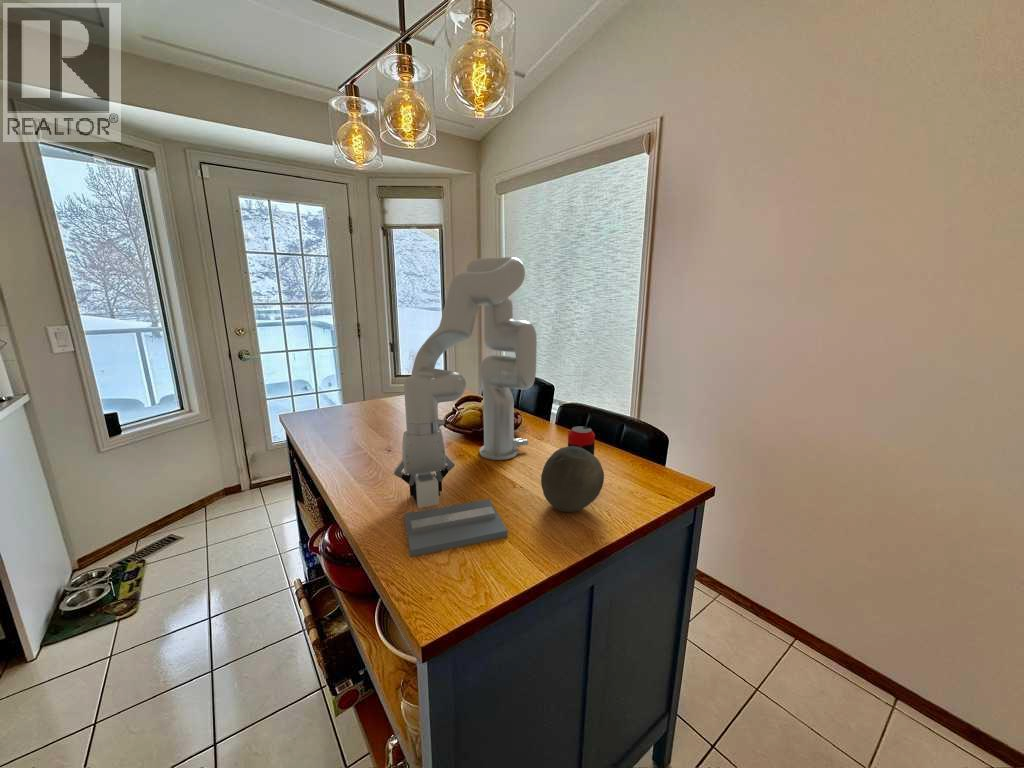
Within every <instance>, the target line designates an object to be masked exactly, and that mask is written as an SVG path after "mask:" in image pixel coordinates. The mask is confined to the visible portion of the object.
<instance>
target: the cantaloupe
mask: <svg viewBox="0 0 1024 768" xmlns="http://www.w3.org/2000/svg"><path fill="white" fill-rule="evenodd" d="M604 481H605V473H604V469H603V466H602V464H601V462H600V460H599V459H598V458H597V457H596V456H595V454H594V455H593V454H591V453H590V452H588V451H587V450H585V449H583V448H581V447H576V446H568V445H567V446H564V447H561V448H559V449H557V450H555V451H554V452H553V453H552V454H551V455H550V456H549V458H547V460H546V461H545V464H544V466H543V468H542V472H541V477H540V484H541V488H542V492H543V496H544V498H545V499H546V501H547V502H548V504H550V505H551V506H552V507H553V508H554V509H556V510H558V511H561V512H565V513H566V512H567V513H569V512H570V513H572V512H577V511H580V510H583V509H585V508H586V507H588V506H590V504H592V503H593V502H594V501H595V500H596V499H597V497H598V496H599V494H600V493H601V490H602V488H603V484H604Z"/></svg>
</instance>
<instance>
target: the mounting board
mask: <svg viewBox="0 0 1024 768" xmlns="http://www.w3.org/2000/svg"><path fill="white" fill-rule="evenodd" d="M490 506H492V508H493V510H494V511H495V518H492V519H487V520H481V521H476V522H471V523H466V524H460V525H455V526H450V527H445V528H439V529H434V530H429V531H424V532H418V533H412V528H411V521H413V520H418V519H424V518H429V517H435V516H440V515H446V514H452V513H457V512H463V511H468V510H474V509H479V508H485V507H490ZM403 514H404V515H403V518H404V524H405V531H406V537H407V543H408V544H407V545H408V549H409V556H410V557H411V558H413V557H417V556H422V555H426V554H432V553H436V552H441V551H446V550H450V549H455V548H460V547H461V548H462V547H465V546H470V545H475V544H478V543H479V544H480V543H484V542H490V541H494V539H495V540H498V539H499V538H500V539H504V538H508V535H509V533H508V528H507V527H506V525H505V523H504V522H503V520H502V519H501V517H500V515H499V514H498V512H497V509H495V506H494V505H493V503H492V502H491V500H490V499H489V498H486V499H481V500H475V501H470V502H464V503H463V502H462V503H458V504H453V505H445V506H440V507H435V508H429V509H424V510H417V511H412V512H406V513H403Z"/></svg>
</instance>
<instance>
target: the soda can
mask: <svg viewBox="0 0 1024 768" xmlns="http://www.w3.org/2000/svg"><path fill="white" fill-rule="evenodd" d="M595 441H596V434H595V433H594V431H593V429H592V428H590V427H587V426H580V425H579V426H577V425H576V426H573V427H572V428H571V429H570V430H569V431H568V433H567V447H568V446H576V447H581V448H583V449H585V450H587V451H588V452H590V453H591V454H593V455H594V456H595Z"/></svg>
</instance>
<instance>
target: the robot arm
mask: <svg viewBox="0 0 1024 768" xmlns="http://www.w3.org/2000/svg"><path fill="white" fill-rule="evenodd" d="M525 277H526V269H525V266H524V263H523V262H522V261H521V259H519V258H518V257H515V256H506V257H504V256H503V257H500V256H499V257H484V258H483V257H482V258H481V257H480V258H477V259H476V258H475V259H472V260H471V261H469V262H468V264H467V266H466V272H460V273H457V274H455V275H454V276H453V277H452V278H451V281H450V284H449V288H448V291H447V295H446V299H445V303H444V307H443V310H442V314H441V320H440V322H439V325H438V327H437V328H436V330H435V331H434V332H432V333H431V335H430V336H429V337H428V338H427V339H426V340H425V341H424V343H422V345H421V346H420V348H419V349H418V351H417V353H416V355H415V359H414V363H413V366H412V371H411V375H409V376H408V377H406V378H405V379H404V381H403V391H404V407H405V425H406V430H405V431H403V434H402V445H401V446H402V447H401V450H402V451H401V452H402V456H401V457H402V459H401V460H400V461H399V463H398V465H396V467H395V469H394V470H393V474H394V476H396V477H398V478H399V479H402V480H403V481H404V482H405V483H406V484H408V486H409V495H410V497H413V501H417V495H416V484H415V477H416V474H419V473H426V472H433V471H434V472H435V475H436V478H437V480H438V491H439V497H441V492H443V491H442V490H443V485H442V481H443V480H444V478H445V477H446V476H447V475H448V474H449V472H450V471H452V470H453V468H455V466H456V465H455V462H454V461H453V460H452V459H451V458H450V457H449V456H448V455H447V454H446V447H445V443H444V436H443V431H442V429H441V427H442V426H446V425H445V419H440V418H439V406H438V405H439V404H441V403H447V402H454V401H456V400H458V399H460V398H461V397H463V395H464V393H465V391H466V389H467V388H466V387H467V384H466V383H467V381H466V379H465V378H464V376H463V375H462V374H461V373H459V372H457V371H454V370H449V369H448V370H446V369H440V368H436V366H437V365H436V364H437V363H438V361H439V360H438V359H440V357H441V356H442V354H444V353H445V352H446V351H447V350H449V349H450V348H451V347H454V346H455V345H458V344H461V343H462V342H464V341H466V340H468V339H469V338H471V336H472V334H473V331H474V327H475V322H476V318H477V315H478V314H477V313H478V311H479V307H480V306H482V307H483V323H484V326H483V328H484V329H483V330H484V331H483V332H484V335H483V336H484V343H485V346H486V347H487V348H488V349H489V350H492V351H495V352H496V351H497V352H504V353H505V352H507V353H514V355H515V356H512V355H511V356H510V355H502V354H501V355H500V354H492V355H491V354H490V355H487V356H486V357H484V358H483V359H482V361H481V362H480V365H479V369H478V370H479V372H478V373H479V378H480V382H481V387H482V388H481V389H482V396H483V397H482V399H483V445H482V446H481V447H479V456H481V457H482V458H484V459H487V460H492V461H504V460H510V459H513V458H515V457H516V456H518V455H519V452H520V451H519V447H521V446H522V447H525V446H529V440H528V439H523V438H522V437H517V438H515V434H514V433H515V428H514V427H515V424H514V422H515V421H514V419H515V413H514V411H515V410H514V409H515V407H514V406H515V402H514V401H515V400H514V397H513V395H514V394H513V393H512V391H511V389H513V390H514V389H515V390H528V389H531V388H532V386H533V385H534V383H535V381H536V380H535V379H536V377H537V376H536V374H537V343H538V342H537V340H538V339H537V332H536V328H535V326H534V325H533V324H532V323H531V322H530V321H528V320H525V319H524V320H522V319H514V313H513V312H514V311H513V300H512V298H511V295H513V294H514V293H515V292H517V291H518V290H519V288H520V287H521V286H522V284H523V283H524V281H525ZM403 470H404V471H403Z"/></svg>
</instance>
